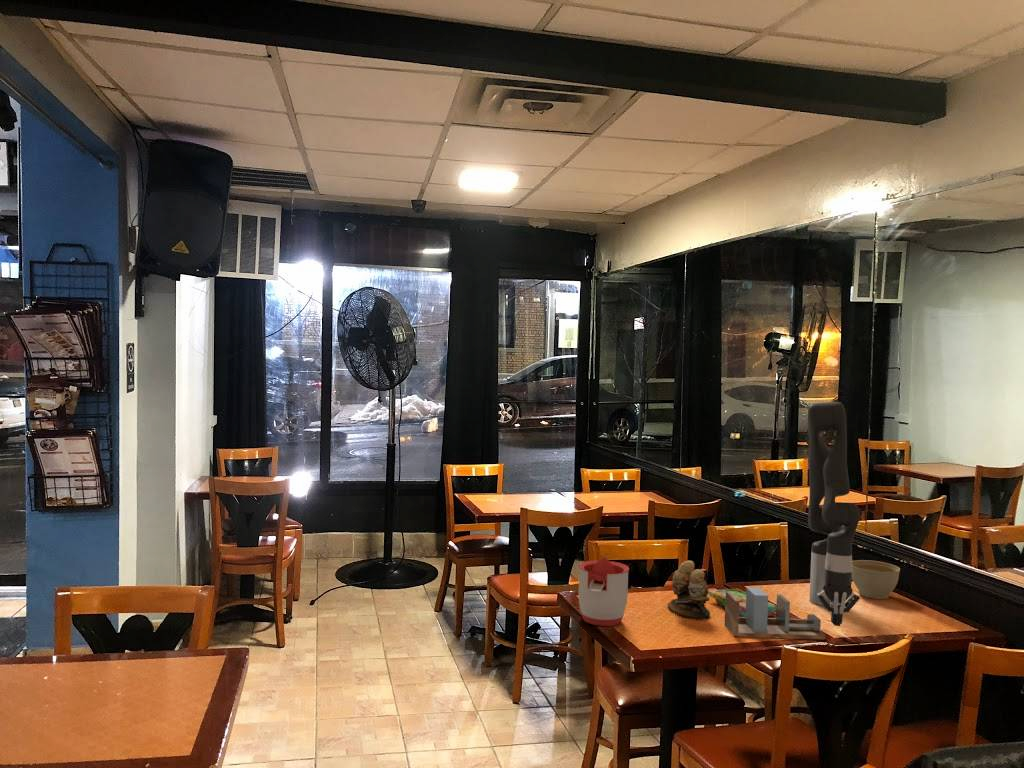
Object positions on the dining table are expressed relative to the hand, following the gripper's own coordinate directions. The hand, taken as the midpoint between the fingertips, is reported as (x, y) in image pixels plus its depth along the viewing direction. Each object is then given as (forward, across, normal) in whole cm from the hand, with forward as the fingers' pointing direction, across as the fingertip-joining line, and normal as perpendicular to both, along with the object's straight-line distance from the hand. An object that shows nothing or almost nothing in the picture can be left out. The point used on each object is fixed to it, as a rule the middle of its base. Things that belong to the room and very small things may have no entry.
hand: (836, 625), depth 229 cm
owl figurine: (+3, +40, -17) cm, 44 cm away
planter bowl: (+3, -32, -42) cm, 53 cm away
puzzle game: (+3, +22, -22) cm, 31 cm away
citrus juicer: (+3, +70, -5) cm, 71 cm away
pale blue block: (+2, +24, 0) cm, 24 cm away
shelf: (+3, +19, 0) cm, 19 cm away
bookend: (+1, +11, 0) cm, 12 cm away
